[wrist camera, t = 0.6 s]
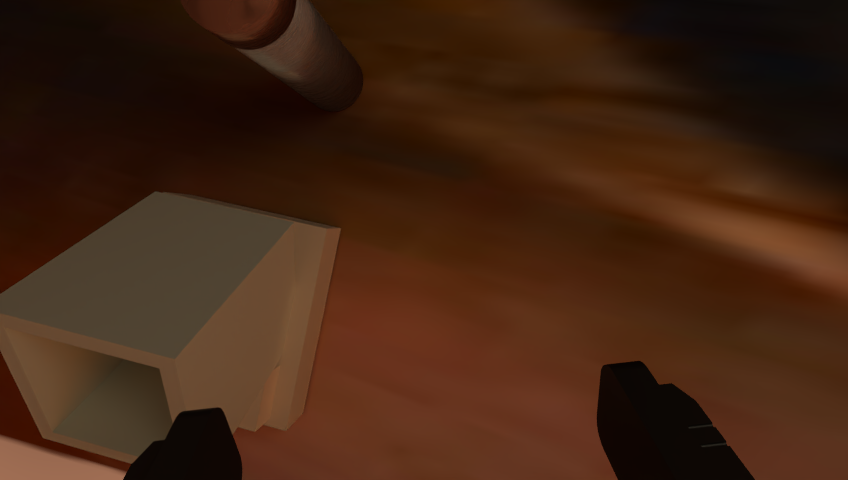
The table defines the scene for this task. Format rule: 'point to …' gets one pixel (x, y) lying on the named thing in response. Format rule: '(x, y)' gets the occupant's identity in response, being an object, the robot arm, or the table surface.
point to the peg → (286, 45)
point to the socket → (170, 323)
